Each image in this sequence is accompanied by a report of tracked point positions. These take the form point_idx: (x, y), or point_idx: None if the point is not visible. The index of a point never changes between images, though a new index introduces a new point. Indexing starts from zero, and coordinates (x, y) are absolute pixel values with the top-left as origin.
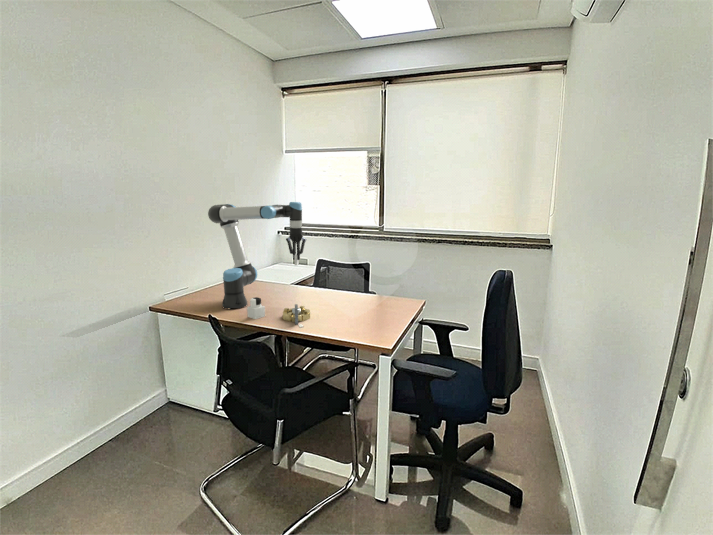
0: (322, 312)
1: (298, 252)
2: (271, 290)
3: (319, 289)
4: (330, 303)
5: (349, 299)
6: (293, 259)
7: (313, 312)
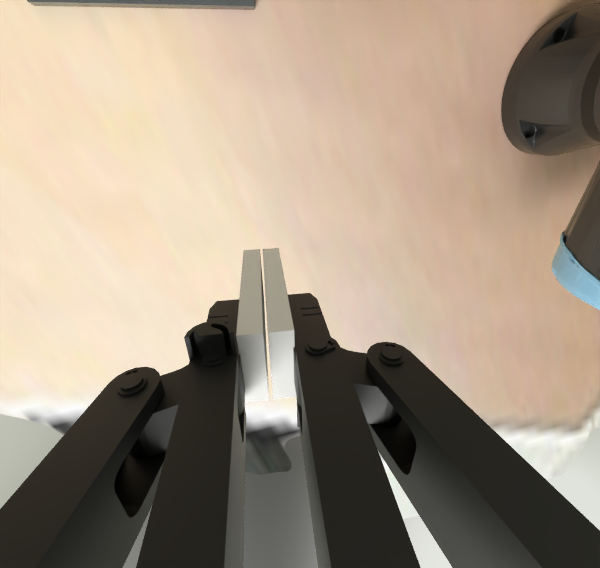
0: (40, 63)
1: (189, 389)
2: (439, 348)
3: (259, 408)
4: (102, 245)
5: (51, 326)
6: (308, 294)
7: (95, 51)
